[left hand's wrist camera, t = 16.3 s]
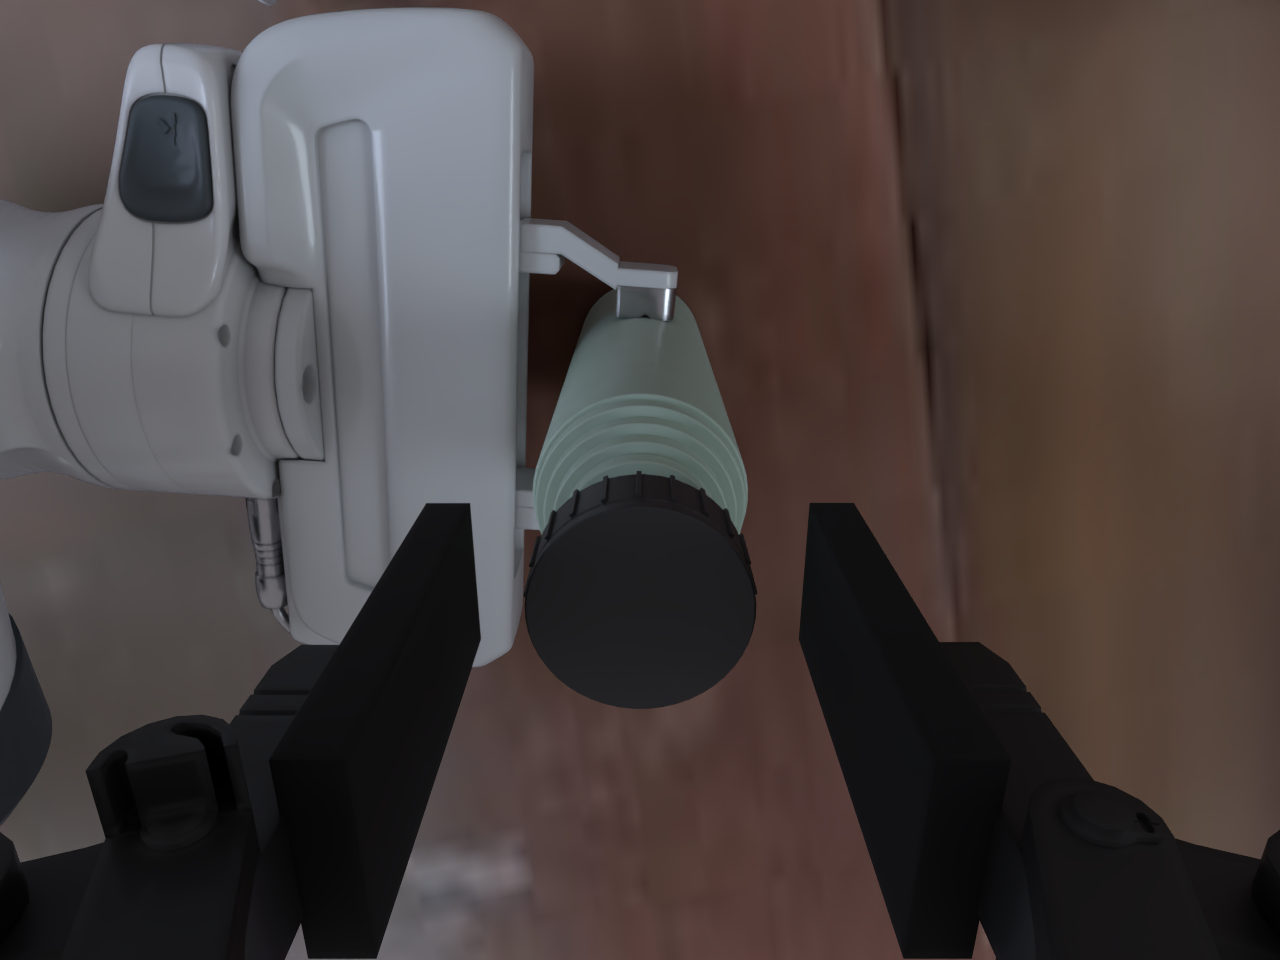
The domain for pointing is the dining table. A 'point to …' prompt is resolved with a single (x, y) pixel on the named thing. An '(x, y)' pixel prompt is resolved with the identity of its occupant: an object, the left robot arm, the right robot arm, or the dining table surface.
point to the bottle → (639, 413)
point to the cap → (640, 592)
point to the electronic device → (268, 2)
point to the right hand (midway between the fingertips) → (668, 386)
